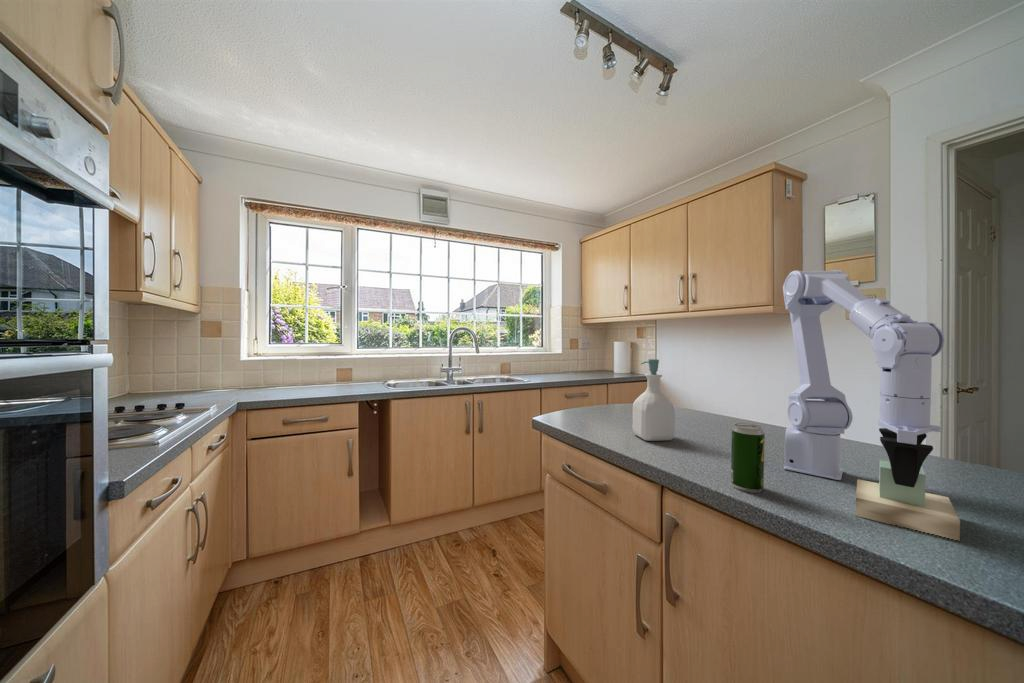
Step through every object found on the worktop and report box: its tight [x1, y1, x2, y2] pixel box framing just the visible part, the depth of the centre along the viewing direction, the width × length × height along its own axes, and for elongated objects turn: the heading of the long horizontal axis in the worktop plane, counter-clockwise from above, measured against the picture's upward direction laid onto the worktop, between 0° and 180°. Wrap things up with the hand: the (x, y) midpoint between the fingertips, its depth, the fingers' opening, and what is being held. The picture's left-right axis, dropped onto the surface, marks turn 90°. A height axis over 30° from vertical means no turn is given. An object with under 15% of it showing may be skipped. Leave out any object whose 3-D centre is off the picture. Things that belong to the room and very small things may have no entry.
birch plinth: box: [855, 478, 961, 542], centre depth 61 cm, size 11×11×3 cm
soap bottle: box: [632, 358, 676, 442], centre depth 107 cm, size 10×10×23 cm
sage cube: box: [878, 459, 927, 507], centre depth 61 cm, size 5×5×5 cm
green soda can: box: [730, 422, 766, 494], centre depth 72 cm, size 5×5×12 cm
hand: (902, 478), depth 61 cm, fingers open, 7 cm apart
